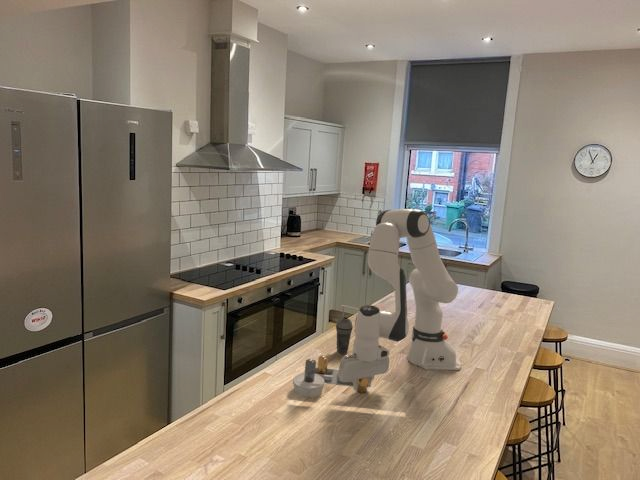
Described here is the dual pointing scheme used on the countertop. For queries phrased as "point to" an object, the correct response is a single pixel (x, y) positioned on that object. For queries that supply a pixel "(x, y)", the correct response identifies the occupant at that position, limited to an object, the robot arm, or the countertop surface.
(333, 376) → the gray slab
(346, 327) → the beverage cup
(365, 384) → the copper cell
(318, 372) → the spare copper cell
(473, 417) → the countertop surface
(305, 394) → the ramekin
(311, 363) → the cylinder
